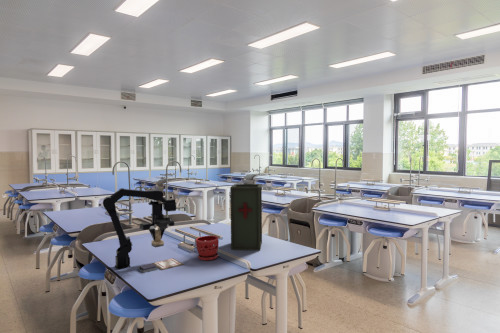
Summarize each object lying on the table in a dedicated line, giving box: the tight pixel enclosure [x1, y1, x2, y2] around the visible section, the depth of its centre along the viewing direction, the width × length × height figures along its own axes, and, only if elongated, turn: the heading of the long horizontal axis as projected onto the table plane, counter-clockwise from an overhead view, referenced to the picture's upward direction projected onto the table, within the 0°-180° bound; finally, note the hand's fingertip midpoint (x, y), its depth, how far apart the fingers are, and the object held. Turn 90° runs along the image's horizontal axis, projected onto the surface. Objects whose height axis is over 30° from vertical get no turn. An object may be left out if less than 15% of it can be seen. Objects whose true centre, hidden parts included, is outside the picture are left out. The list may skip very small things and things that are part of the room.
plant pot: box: [195, 235, 220, 261], centre depth 192 cm, size 13×13×12 cm
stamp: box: [151, 229, 165, 248], centre depth 186 cm, size 5×5×9 cm
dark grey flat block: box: [137, 262, 159, 274], centre depth 174 cm, size 8×7×2 cm
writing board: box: [152, 257, 185, 271], centre depth 182 cm, size 13×13×1 cm
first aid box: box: [229, 183, 263, 251], centre depth 215 cm, size 18×18×40 cm
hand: (157, 239), depth 186 cm, fingers closed on stamp, 4 cm apart
